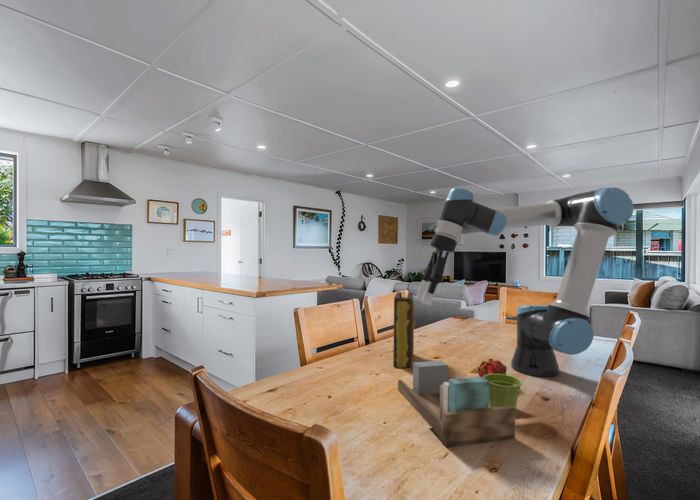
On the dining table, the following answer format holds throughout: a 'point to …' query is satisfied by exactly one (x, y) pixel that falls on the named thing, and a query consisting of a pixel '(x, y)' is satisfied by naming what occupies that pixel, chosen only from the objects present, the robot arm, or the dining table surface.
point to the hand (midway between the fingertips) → (422, 302)
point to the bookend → (429, 376)
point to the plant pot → (503, 390)
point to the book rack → (463, 412)
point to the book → (403, 330)
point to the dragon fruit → (491, 368)
